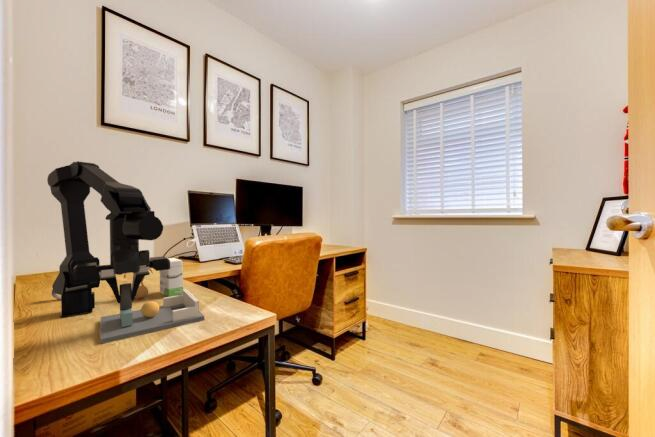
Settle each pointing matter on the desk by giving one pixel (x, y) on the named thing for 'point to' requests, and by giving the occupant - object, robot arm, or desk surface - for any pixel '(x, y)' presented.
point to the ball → (150, 309)
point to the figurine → (141, 289)
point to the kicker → (126, 304)
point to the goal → (184, 299)
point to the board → (142, 323)
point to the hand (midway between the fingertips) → (125, 301)
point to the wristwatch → (55, 295)
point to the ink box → (172, 278)
